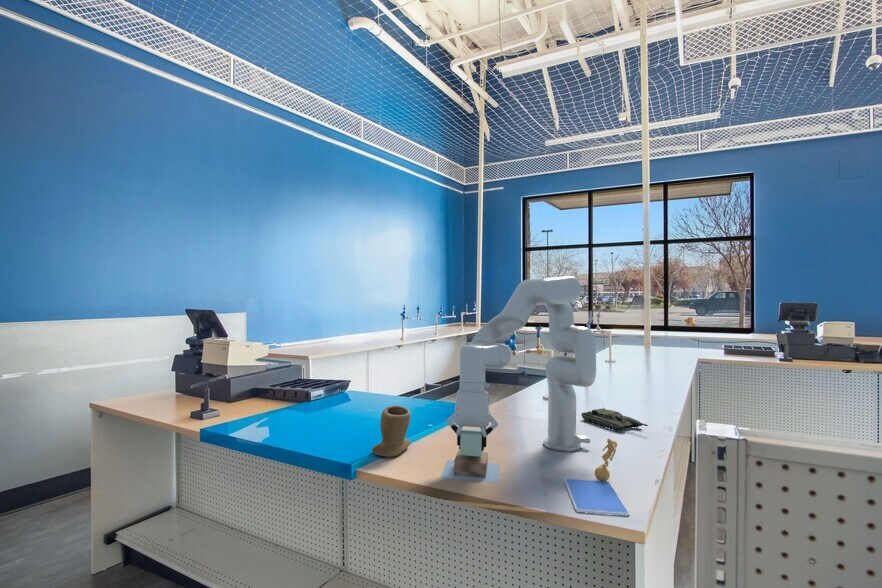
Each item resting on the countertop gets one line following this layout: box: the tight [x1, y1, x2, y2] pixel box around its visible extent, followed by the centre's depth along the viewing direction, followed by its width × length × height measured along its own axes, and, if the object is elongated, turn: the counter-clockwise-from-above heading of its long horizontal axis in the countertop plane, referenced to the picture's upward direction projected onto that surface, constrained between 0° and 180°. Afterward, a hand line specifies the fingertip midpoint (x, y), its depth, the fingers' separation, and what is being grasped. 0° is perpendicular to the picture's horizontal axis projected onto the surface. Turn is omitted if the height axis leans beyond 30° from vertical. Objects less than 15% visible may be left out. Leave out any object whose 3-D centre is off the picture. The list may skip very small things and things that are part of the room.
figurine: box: [594, 438, 618, 482], centre depth 122 cm, size 8×6×12 cm
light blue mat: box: [440, 459, 500, 484], centre depth 126 cm, size 16×14×1 cm
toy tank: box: [581, 402, 648, 432], centre depth 178 cm, size 14×28×10 cm, turn 26°
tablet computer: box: [564, 478, 630, 516], centre depth 112 cm, size 19×13×1 cm, turn 172°
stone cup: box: [371, 405, 412, 458], centre depth 144 cm, size 15×12×15 cm
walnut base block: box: [453, 449, 489, 478], centre depth 126 cm, size 9×9×4 cm
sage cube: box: [459, 427, 483, 457], centre depth 126 cm, size 6×6×6 cm
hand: (471, 448), depth 126 cm, fingers closed on sage cube, 5 cm apart
